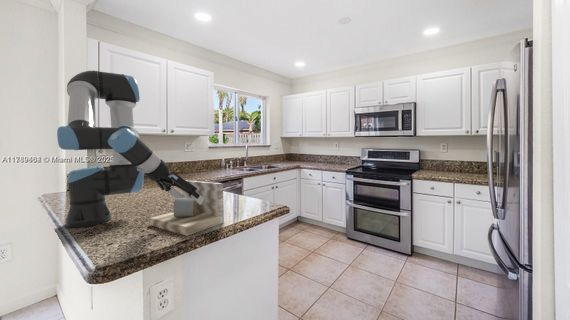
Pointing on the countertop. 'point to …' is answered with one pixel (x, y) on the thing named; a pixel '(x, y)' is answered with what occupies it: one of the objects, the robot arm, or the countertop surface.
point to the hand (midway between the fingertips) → (191, 200)
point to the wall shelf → (206, 214)
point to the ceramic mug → (185, 207)
